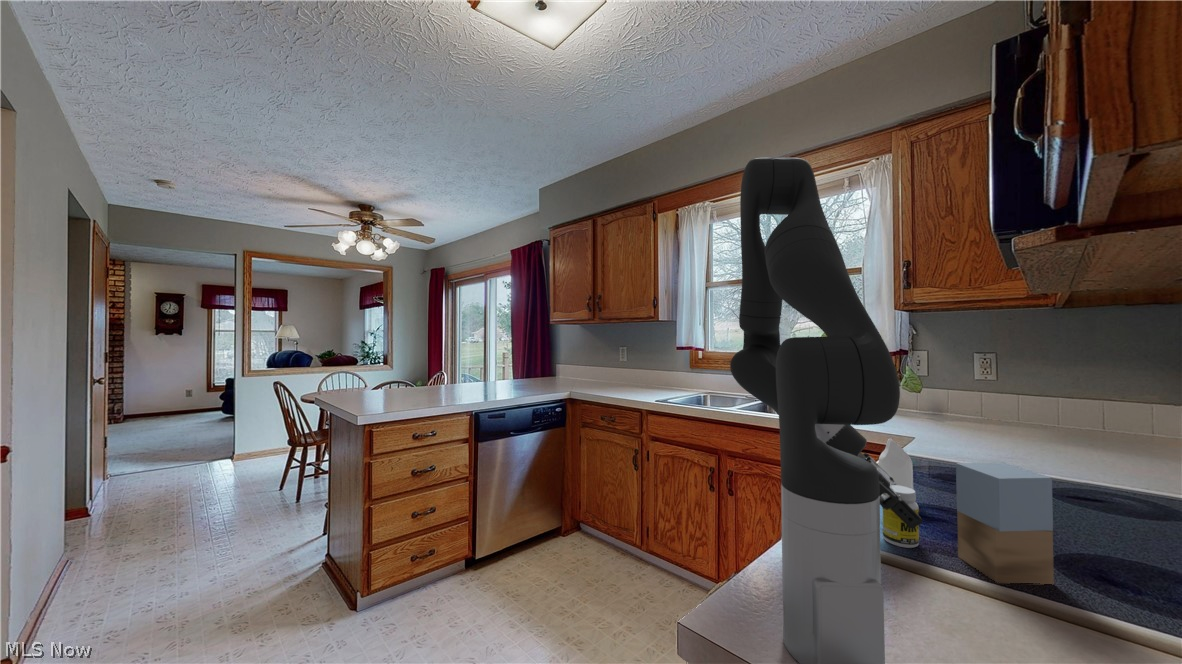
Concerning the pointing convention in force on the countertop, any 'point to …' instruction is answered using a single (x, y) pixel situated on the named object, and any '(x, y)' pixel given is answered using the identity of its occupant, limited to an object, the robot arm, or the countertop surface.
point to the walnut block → (1006, 552)
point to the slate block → (1005, 496)
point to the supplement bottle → (895, 527)
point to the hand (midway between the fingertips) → (914, 517)
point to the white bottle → (897, 464)
